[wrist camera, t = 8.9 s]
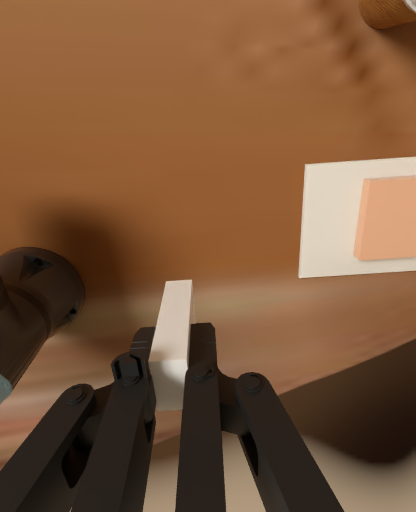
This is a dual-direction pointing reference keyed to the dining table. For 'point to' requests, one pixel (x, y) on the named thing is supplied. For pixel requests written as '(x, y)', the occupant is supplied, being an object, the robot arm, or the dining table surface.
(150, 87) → the dining table surface
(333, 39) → the dining table surface
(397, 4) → the disposable coffee cup
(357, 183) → the mat
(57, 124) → the dining table surface
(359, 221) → the tile
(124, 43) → the dining table surface
